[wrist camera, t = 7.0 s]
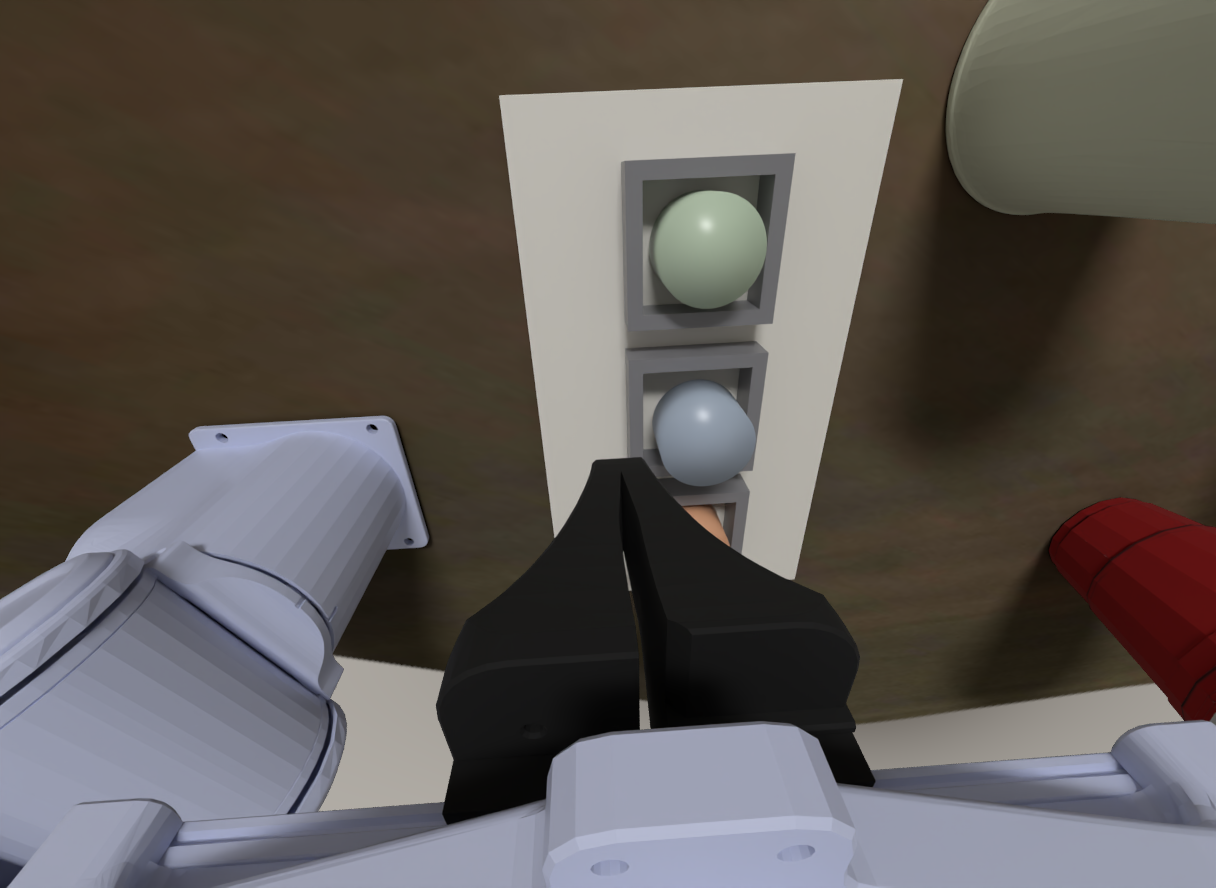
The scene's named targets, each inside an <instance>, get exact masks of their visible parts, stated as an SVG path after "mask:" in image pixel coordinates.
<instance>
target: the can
mask: <svg viewBox="0 0 1216 888" xmlns="http://www.w3.org/2000/svg"><path fill="white" fill-rule="evenodd" d="M946 141H947V149H948V154H949V159H950V162H951V164H952V167H953V170H954V173H955V175H956V177H957V178H958V180H959V182H960V183H961V185H962V187H963V188H964V189H965V190H966V191H967V193H968V194H969V195H970V196H971V197H973V198H974V199H975V200H976V201H977V202H979V203H980V204H982V205H984V206H985V207H988V208H990V209H992V210H994V211H998V212H1001V213H1006V214H1012V215H1032V214H1039V213H1067V214H1083V215H1099V216H1114V217H1128V218H1141V219H1155V220H1168V221H1181V222H1195V223H1208V224H1216V0H989V1H988V2H987V4H986V6H985V7H984V9H983V10H982V12H981V14H980V15H979V17H978V19H977V21H976V23H975V24H974V26H973V28H972V30H971V32H970V34H969V37H968V39H967V41H966V43H965V45H964V47H963V50H962V53H961V55H960V58H959V61H958V64H957V66H956V69H955V72H954V76H953V79H952V83H951V87H950V92H949V97H948V103H947V112H946Z"/></svg>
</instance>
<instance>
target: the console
mask: <svg viewBox="0 0 1216 888" xmlns="http://www.w3.org/2000/svg"><path fill="white" fill-rule="evenodd" d="M902 82H903V79H892V80H868V81H843V82H819V83H794V84H770V85H745V86H721V87H697V88H672V89H648V90H623V91H599V92H574V93H550V94H526V95H501V96H499V99H500V107H501V114H502V122H503V130H504V138H505V146H506V154H507V162H508V170H509V178H510V186H511V194H512V202H513V210H514V218H515V226H516V234H517V242H518V250H519V258H520V266H521V274H522V282H523V290H524V298H525V306H526V314H527V322H528V330H529V338H530V346H531V354H532V362H533V370H534V378H535V386H536V394H537V402H538V410H539V418H540V426H541V434H542V442H543V450H544V458H545V466H546V474H547V482H548V490H549V498H550V506H551V514H552V522H553V529H554V537H556V536H557V535H558V533H559V532H560V530H561V529H562V527H563V526H564V524H565V523H566V521H567V519H568V518H569V516H570V514H571V513H572V511H573V509H574V508H575V506H576V504H577V502H578V500H579V498H580V496H581V494H582V492H583V490H584V487H585V485H586V483H587V480H588V477H589V474H590V471H591V467H592V463H593V462H594V461H595V460H599V459H616V458H633V457H642V458H643V459H644V460H645V461H646V463H647V465H648V466H649V468H650V469H651V470H652V472H653V473H654V475H655V476H656V477H657V479H658V480H659V481H660V482H661V484H662V485H663V486H664V487H665V488H666V490H667V491H668V492H669V493H670V494H671V495H672V496H673V498H674V499H675V500H676V501H677V502H678V503H679V504H680V505H681V506H687V505H702V504H711V505H712V506H713V507H714V508H715V510H716V512H717V515H718V517H719V519H720V522H721V524H722V527H723V529H724V532H725V534H726V537H727V539H728V541H729V544H730V547H731V548H733V549H734V550H736V551H737V552H739V553H740V554H742V555H743V556H745V557H747V558H748V559H750V560H752V561H753V562H755V563H757V564H759V565H760V566H762V567H764V568H766V569H768V570H770V571H772V572H774V573H776V574H778V575H779V576H781V577H784V578H786V579H795V574H796V570H797V565H798V561H799V556H800V551H801V547H802V542H803V538H804V533H805V528H806V524H807V519H808V515H809V510H810V505H811V501H812V496H813V491H814V487H815V482H816V478H817V473H818V468H819V464H820V459H821V455H822V450H823V445H824V441H825V436H826V432H827V427H828V422H829V418H830V413H831V409H832V404H833V399H834V395H835V390H836V386H837V381H838V376H839V372H840V367H841V363H842V358H843V353H844V349H845V344H846V340H847V335H848V330H849V326H850V321H851V316H852V312H853V307H854V303H855V298H856V293H857V289H858V284H859V280H860V275H861V270H862V266H863V261H864V257H865V252H866V247H867V243H868V238H869V234H870V229H871V224H872V220H873V215H874V211H875V206H876V201H877V197H878V192H879V188H880V183H881V178H882V174H883V169H884V165H885V160H886V155H887V151H888V146H889V142H890V137H891V132H892V128H893V123H894V118H895V114H896V109H897V105H898V100H899V95H900V91H901V86H902ZM695 190H712V191H722V192H729V193H733V194H736V195H738V196H740V197H742V198H744V199H745V200H747V201H748V202H749V203H750V204H751V205H752V206H753V207H754V208H755V209H756V210H757V212H758V213H759V215H760V217H761V219H762V221H763V224H764V227H765V231H766V236H767V251H766V256H765V261H764V264H763V267H762V269H761V271H760V274H759V275H758V277H757V279H756V280H755V282H754V283H753V285H752V286H751V287H750V288H749V289H748V290H747V291H746V292H745V293H744V294H743V295H742V296H741V297H739V298H738V299H736V300H735V301H733V302H731V303H729V304H727V305H724V306H722V307H718V308H712V309H700V308H695V307H691V306H688V305H686V304H684V303H682V302H681V301H679V300H678V299H677V298H675V297H674V296H673V295H672V294H671V293H670V291H669V290H668V289H667V288H666V286H665V285H664V284H663V283H662V281H661V280H660V279H659V278H658V276H657V275H656V273H655V271H654V269H653V267H652V264H651V260H650V255H649V240H650V235H651V231H652V228H653V225H654V223H655V221H656V219H657V217H658V216H659V214H660V213H661V211H662V210H663V209H664V208H665V207H666V206H667V205H668V204H669V203H670V202H671V201H672V200H673V199H675V198H677V197H678V196H680V195H682V194H684V193H687V192H690V191H695ZM697 379H704V380H710V381H714V382H716V383H719V384H721V385H722V386H724V387H725V388H726V389H728V390H729V392H730V393H731V394H732V395H733V397H734V398H735V399H736V401H737V402H738V404H739V405H740V407H741V408H742V409H743V411H744V412H745V414H746V415H747V416H748V418H749V419H750V421H751V422H752V424H753V427H754V430H755V434H756V444H755V449H754V452H753V455H752V457H751V459H750V460H749V462H748V463H747V465H746V466H745V467H744V468H743V469H742V470H741V471H740V472H739V473H738V474H736V475H735V476H734V477H732V478H730V479H729V480H727V481H725V482H722V483H719V484H716V485H711V486H692V485H688V484H685V483H682V482H680V481H678V480H677V479H675V478H674V477H673V476H672V475H671V474H670V473H669V472H668V471H667V470H666V468H665V466H664V464H663V462H662V459H661V455H660V452H659V449H658V445H657V442H656V438H655V435H654V431H653V425H652V420H653V414H654V410H655V408H656V406H657V404H658V402H659V401H660V399H661V398H662V397H663V396H664V395H665V393H667V392H668V391H669V390H670V389H672V388H673V387H675V386H677V385H679V384H681V383H683V382H686V381H690V380H697ZM623 556H624V551H623ZM624 564H625V570H626V576H627V583H628V589H629V591H630V590H632V589H631V585H630V580H629V575H628V570H627V566H626V561H625V556H624Z"/></svg>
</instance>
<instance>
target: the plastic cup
mask: <svg viewBox="0 0 1216 888" xmlns="http://www.w3.org/2000/svg"><path fill="white" fill-rule="evenodd" d="M1049 554H1050V557H1051V560H1052V562H1053V563H1054V564H1055V565H1056V566H1057V569H1058V571H1059V572H1060V573H1061V574H1062V575H1063V576H1064V578H1065V579H1066V580H1067V581H1068V582H1069V583H1070V584H1071V585H1072V586H1073V587H1074V589H1075V590H1076V591H1077V592H1078V593H1079V594H1080V595H1081V596H1082V597H1083V598H1084V599H1085V601H1086V602H1087V603H1088V604H1089V607H1090V609H1091V610H1092V611H1093V612H1094V614H1095V615H1096V616H1097V617H1098V618H1099V619H1100V620H1101V622H1102V623H1103V624H1104V625H1105V626H1106V627H1107V628H1108V630H1109V631H1110V632H1111V633H1112V634H1113V635H1114V636H1115V638H1116V639H1117V640H1118V641H1119V642H1120V643H1121V645H1122V646H1123V647H1124V648H1125V649H1126V650H1127V651H1128V653H1129V654H1130V655H1131V656H1132V657H1133V658H1134V659H1135V661H1136V662H1137V663H1138V664H1139V665H1140V666H1141V667H1142V669H1143V670H1144V671H1145V672H1146V673H1147V674H1148V676H1149V677H1150V678H1151V679H1152V680H1153V681H1154V682H1155V684H1156V685H1157V686H1158V687H1159V688H1160V689H1161V690H1162V691H1163V693H1164V694H1165V695H1166V696H1167V697H1168V701H1169V703H1170V704H1171V705H1172V706H1173V708H1174V709H1175V710H1176V711H1177V712H1178V714H1179V715H1180V716H1181V717H1182V718H1183V720H1184V721H1194V720H1205V721H1209V722H1212V723H1213V724H1214V725H1215V726H1216V528H1215V527H1213V526H1205V525H1202V524H1200V523H1198V522H1195V521H1193V520H1190V519H1188V518H1185V517H1183V516H1180V515H1178V514H1176V513H1173V512H1171V511H1168V510H1166V509H1163V508H1161V507H1158V506H1156V505H1154V504H1151V503H1144V502H1141V501H1139V500H1136V499H1129V498H1115V499H1110V500H1106V501H1101V502H1098V503H1096V504H1094V505H1092V506H1090V507H1088V508H1086V509H1084V510H1081V511H1080V512H1078V513H1077V514H1076V515H1075V516H1073V517H1072V518H1071V519H1069V520H1068V521H1067V522H1065V523H1064V524H1063V525H1062V527H1061V528H1060V529H1059V530H1058V532H1057V533H1056V534H1055V535H1054V537H1053V538H1052V541H1051V544H1050V548H1049Z"/></svg>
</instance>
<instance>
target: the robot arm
mask: <svg viewBox="0 0 1216 888" xmlns="http://www.w3.org/2000/svg"><path fill="white" fill-rule="evenodd" d="M370 424H373V425H375V426H376V427H377V428H378V430H373V429H372V428H371V427H370ZM221 433H222V434H224V435H226V436H227V438H228V439H227V438H225V437H223V435H222V434H221ZM189 438H190V440H191V442H192V444H193V446H194V448H195V449H196V451H195V452H194V453H192V454H191V455H189V456H188V457H187V458H185V459H184V460H182V461H181V462H179V463H178V464H177V465H175V466H174V467H172V468H171V469H170V470H168V471H167V472H165V473H164V474H163V475H161V476H160V477H158V478H157V479H156V480H154V481H153V482H151V483H150V484H149V485H147V486H146V487H144V488H143V489H142V490H140V491H139V492H137V493H136V494H134V495H133V496H132V497H130V498H129V499H127V500H126V501H125V502H123V503H122V504H120V505H119V506H118V507H116V508H115V509H113V510H112V511H111V512H109V513H108V514H106V515H105V516H104V517H102V518H101V519H99V520H98V521H97V522H95V523H94V524H93V525H92V526H91V527H90V528H89V529H87V530H86V531H85V532H84V534H83V535H82V536H81V537H80V538H79V539H78V541H77V542H76V543H75V545H74V546H73V548H72V550H71V551H70V553H69V555H68V557H67V559H66V561H65V562H63V563H62V564H60V565H58V566H56V567H54V568H52V569H50V570H49V571H47V572H45V573H43V574H42V575H40V576H38V577H37V578H35V579H33V580H31V581H30V582H28V583H26V584H25V585H23V586H22V587H20V588H18V589H17V590H15V591H13V592H12V593H10V594H9V595H7V596H5V597H4V598H2V599H1V600H0V888H1216V726H1215V725H1214V724H1213V723H1212V722H1209V721H1205V720H1194V721H1181V722H1168V723H1154V724H1146V725H1141V726H1137V727H1135V728H1133V729H1130V730H1128V731H1127V732H1125V733H1124V734H1123V735H1122V736H1121V737H1120V738H1119V739H1118V740H1117V741H1116V742H1115V744H1114V745H1113V747H1112V750H1111V752H1108V753H1095V754H1081V755H1070V756H1069V755H1068V756H1055V757H1041V758H1028V759H1014V760H1001V761H988V762H975V763H961V764H948V765H935V766H921V767H909V768H908V767H907V768H894V769H881V770H870V768H869V766H868V764H867V762H866V760H865V758H864V756H863V754H862V752H861V749H860V747H859V745H858V743H857V741H856V739H855V737H854V735H853V733H852V732H855V729H856V724H855V721H854V719H853V717H852V715H851V713H850V711H849V709H848V707H847V705H846V701H847V699H848V696H849V693H850V690H851V687H852V685H853V682H854V679H855V676H856V673H857V671H858V666H859V660H860V655H859V652H858V648H857V645H856V643H855V641H854V640H853V638H852V636H851V635H850V633H849V631H848V629H847V628H846V626H845V625H844V623H843V622H842V620H841V619H840V617H839V616H838V614H837V613H836V611H835V610H834V609H833V608H832V606H831V605H830V604H829V602H828V601H827V600H826V598H825V597H824V595H822V594H820V593H818V592H815V591H813V590H811V589H809V588H806V587H804V586H802V585H799V584H797V583H795V582H793V581H790V580H788V579H786V578H784V577H781V576H779V575H778V574H776V573H774V572H772V571H770V570H768V569H766V568H764V567H762V566H760V565H759V564H757V563H755V562H753V561H752V560H750V559H748V558H747V557H745V556H743V555H742V554H740V553H739V552H737V551H736V550H734V549H733V548H731V547H730V546H728V545H727V544H725V543H724V542H722V541H721V540H719V539H718V538H717V537H715V536H714V535H713V534H712V533H710V532H709V531H708V530H707V529H705V528H704V527H703V526H702V525H701V524H700V523H698V522H697V521H696V520H695V519H694V518H693V517H692V516H691V515H690V514H689V513H688V512H687V511H686V510H685V509H684V508H683V507H682V506H681V505H680V504H679V503H678V502H677V501H676V500H675V499H674V498H673V496H672V495H671V494H670V493H669V492H668V491H667V490H666V488H665V487H664V486H663V485H662V484H661V482H660V481H659V480H658V479H657V477H656V476H655V475H654V473H653V472H652V470H651V469H650V468H649V466H648V465H647V463H646V461H645V460H644V459H643V458H642V457H633V458H616V459H599V460H595V461H594V462H593V463H592V467H591V471H590V474H589V477H588V480H587V483H586V485H585V487H584V490H583V492H582V494H581V496H580V498H579V500H578V502H577V504H576V506H575V508H574V509H573V511H572V513H571V514H570V516H569V518H568V519H567V521H566V523H565V524H564V526H563V527H562V529H561V530H560V532H559V533H558V535H557V536H556V537H555V539H554V540H553V541H552V543H551V544H550V545H549V546H548V548H547V549H546V550H545V551H544V552H543V554H542V555H541V556H540V557H539V558H538V559H537V561H536V562H535V563H534V564H533V565H532V566H531V567H530V568H529V569H528V570H527V571H526V572H525V573H524V574H523V575H522V576H521V577H520V578H519V579H518V580H517V581H516V582H514V583H513V584H512V585H511V586H510V587H509V588H508V589H507V590H506V591H505V592H504V593H502V594H501V595H500V596H499V597H497V598H496V599H495V600H493V601H492V602H491V603H489V604H488V605H487V606H485V607H484V608H482V609H481V610H480V611H478V612H477V613H476V614H474V615H473V616H471V617H470V618H468V619H467V620H466V622H465V624H464V626H463V628H462V630H461V632H460V634H459V637H458V639H457V641H456V643H455V646H454V648H453V650H452V653H451V655H450V658H449V660H448V663H447V666H446V669H445V673H444V677H443V681H442V684H441V688H440V692H439V696H438V700H437V703H436V709H437V715H438V720H439V722H440V725H441V728H442V730H443V733H444V736H445V738H446V741H447V744H448V746H449V749H450V751H451V754H452V757H453V759H454V761H453V766H452V770H451V775H450V779H449V784H448V789H447V793H446V798H445V802H440V803H427V804H414V805H399V806H386V807H373V808H361V809H360V808H359V809H348V810H333V811H319V809H320V807H321V806H322V804H323V802H324V800H325V798H326V796H327V794H328V792H329V790H330V788H331V785H332V783H333V781H334V778H335V775H336V773H337V770H338V766H339V763H340V760H341V757H342V753H343V750H344V745H345V740H346V732H347V729H346V727H347V723H346V718H345V714H344V712H343V710H342V709H341V707H340V706H339V705H338V704H337V703H336V702H334V701H333V700H331V699H330V698H331V696H332V694H333V691H334V690H335V687H336V685H337V683H338V681H339V679H340V677H341V675H342V673H343V670H344V669H343V667H342V666H341V665H340V664H339V663H337V661H336V660H335V658H334V656H333V652H334V650H335V648H336V646H337V644H338V642H339V640H340V638H341V636H342V635H343V633H344V631H345V629H346V627H347V625H348V623H349V621H350V619H351V617H352V615H353V613H354V611H355V609H356V608H357V606H358V604H359V602H360V600H361V598H362V596H363V594H364V592H365V590H366V588H367V586H368V584H369V582H370V581H371V579H372V577H373V575H374V573H375V571H376V569H377V567H378V565H379V563H380V561H381V559H382V557H383V555H384V554H385V552H386V550H389V549H404V548H420V547H424V546H426V545H427V543H428V541H429V534H428V531H427V528H426V524H425V521H424V518H423V514H422V511H421V507H420V504H419V501H418V497H417V494H416V491H415V487H414V484H413V481H412V477H411V474H410V470H409V467H408V464H407V460H406V457H405V454H404V450H403V447H402V444H401V440H400V437H399V433H398V430H397V427H396V424H395V422H394V421H393V420H392V419H391V418H389V417H387V416H370V417H353V418H336V419H319V420H302V421H285V422H268V423H251V424H234V425H217V426H200V427H196V428H195V429H193V430H192V431H191V432H190V433H189ZM407 538H411V539H412V540H413V541H411V540H408V539H407ZM623 551H624V556H625V561H626V566H627V570H628V575H629V580H630V585H631V589H632V594H633V599H634V603H635V608H636V613H637V618H638V623H639V629H640V635H641V643H642V652H643V661H644V670H645V680H646V689H647V698H648V708H649V717H650V727H651V729H644V730H640V718H639V717H640V715H639V653H638V644H637V635H636V627H635V621H634V616H633V611H632V606H631V600H630V595H629V589H628V583H627V576H626V570H625V564H624V556H623ZM318 811H319V812H318Z"/></svg>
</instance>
